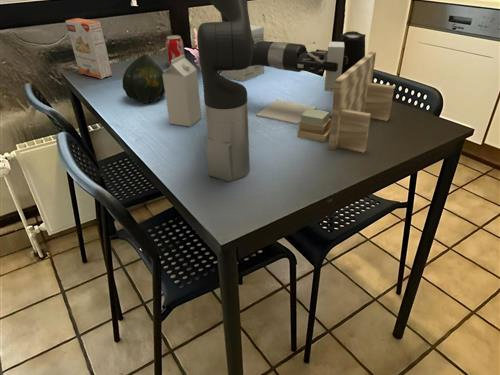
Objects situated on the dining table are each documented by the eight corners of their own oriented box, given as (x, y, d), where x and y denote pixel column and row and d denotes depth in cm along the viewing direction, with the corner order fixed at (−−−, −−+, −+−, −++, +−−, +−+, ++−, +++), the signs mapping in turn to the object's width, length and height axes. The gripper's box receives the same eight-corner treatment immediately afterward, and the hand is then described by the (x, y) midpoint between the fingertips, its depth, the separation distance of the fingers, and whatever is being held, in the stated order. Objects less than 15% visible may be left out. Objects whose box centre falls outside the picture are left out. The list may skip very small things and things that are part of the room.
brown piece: (361, 156, 99) (371, 85, 89) (328, 149, 103) (334, 80, 93) (390, 116, 119) (401, 55, 109) (362, 111, 123) (370, 51, 113)
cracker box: (78, 74, 162) (64, 20, 151) (91, 71, 166) (78, 17, 155) (100, 80, 156) (87, 23, 144) (113, 76, 160) (101, 20, 148)
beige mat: (297, 124, 116) (297, 123, 116) (256, 115, 122) (256, 114, 122) (316, 108, 126) (316, 106, 125) (277, 100, 132) (277, 99, 132)
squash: (118, 94, 125) (143, 53, 123) (112, 83, 137) (134, 45, 135) (156, 116, 134) (181, 79, 131) (147, 104, 146) (169, 69, 143)
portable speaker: (340, 88, 141) (346, 29, 130) (364, 93, 135) (373, 33, 125) (327, 95, 135) (332, 34, 125) (352, 101, 130) (360, 38, 119)
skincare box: (339, 92, 109) (344, 47, 103) (324, 91, 110) (327, 46, 104) (340, 85, 114) (344, 41, 108) (325, 84, 115) (328, 41, 108)
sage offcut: (322, 126, 104) (322, 118, 103) (300, 122, 107) (301, 115, 106) (328, 118, 108) (329, 112, 107) (307, 115, 110) (308, 108, 109)
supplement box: (217, 75, 157) (214, 28, 147) (239, 67, 165) (238, 22, 155) (242, 82, 149) (241, 33, 140) (265, 73, 157) (264, 26, 148)
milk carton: (169, 124, 119) (159, 59, 108) (181, 115, 124) (173, 52, 114) (190, 127, 117) (182, 61, 106) (201, 118, 122) (195, 54, 112)
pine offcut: (324, 144, 106) (325, 136, 105) (297, 138, 110) (297, 130, 108) (332, 136, 110) (333, 127, 109) (306, 130, 114) (306, 122, 113)
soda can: (178, 70, 164) (174, 39, 158) (165, 67, 167) (161, 37, 161) (189, 65, 169) (185, 36, 162) (176, 63, 172) (173, 34, 166)
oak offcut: (323, 135, 105) (324, 126, 104) (298, 130, 108) (299, 122, 107) (330, 127, 109) (331, 119, 108) (306, 122, 112) (307, 114, 111)
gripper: (275, 48, 107) (334, 56, 100) (298, 37, 118) (352, 43, 110) (275, 76, 112) (331, 85, 104) (297, 63, 122) (349, 70, 114)
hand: (342, 63), depth 107 cm, fingers closed on skincare box, 7 cm apart
